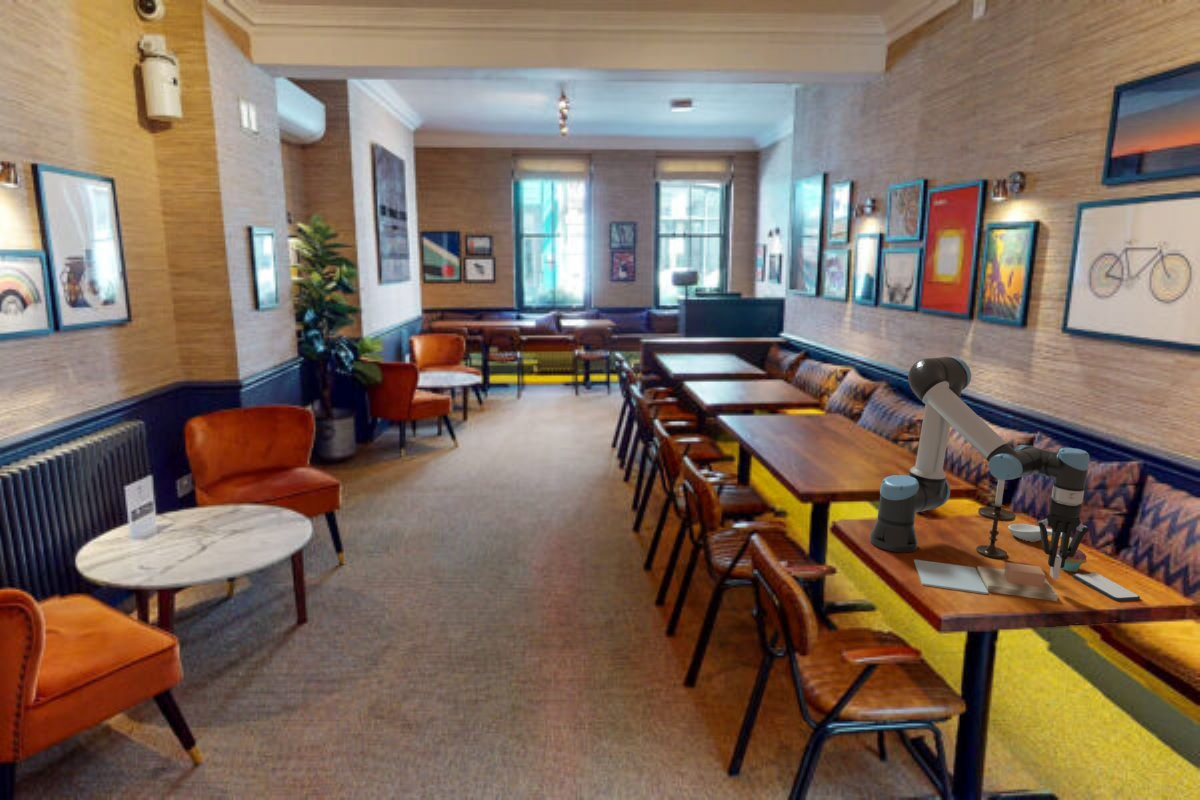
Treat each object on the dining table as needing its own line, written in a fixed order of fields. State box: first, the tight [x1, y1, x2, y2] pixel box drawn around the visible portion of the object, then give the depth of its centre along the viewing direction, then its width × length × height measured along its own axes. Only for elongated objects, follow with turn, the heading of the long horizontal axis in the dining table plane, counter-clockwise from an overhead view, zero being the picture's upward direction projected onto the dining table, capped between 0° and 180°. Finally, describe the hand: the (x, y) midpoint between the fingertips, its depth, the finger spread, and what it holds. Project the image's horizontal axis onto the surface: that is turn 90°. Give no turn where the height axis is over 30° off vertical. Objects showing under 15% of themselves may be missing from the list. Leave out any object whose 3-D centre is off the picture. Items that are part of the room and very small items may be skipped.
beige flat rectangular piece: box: [976, 565, 1059, 602], centre depth 206 cm, size 18×14×2 cm
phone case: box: [1072, 572, 1141, 602], centre depth 206 cm, size 9×2×16 cm
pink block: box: [1004, 561, 1047, 588], centre depth 205 cm, size 9×6×4 cm, turn 73°
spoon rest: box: [1007, 523, 1079, 549], centre depth 238 cm, size 24×12×7 cm, turn 19°
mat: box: [913, 559, 989, 595], centre depth 212 cm, size 18×18×1 cm
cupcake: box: [1057, 539, 1087, 573], centre depth 218 cm, size 9×8×12 cm
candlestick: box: [975, 479, 1017, 560], centre depth 227 cm, size 11×11×35 cm
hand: (1054, 576), depth 203 cm, fingers closed
